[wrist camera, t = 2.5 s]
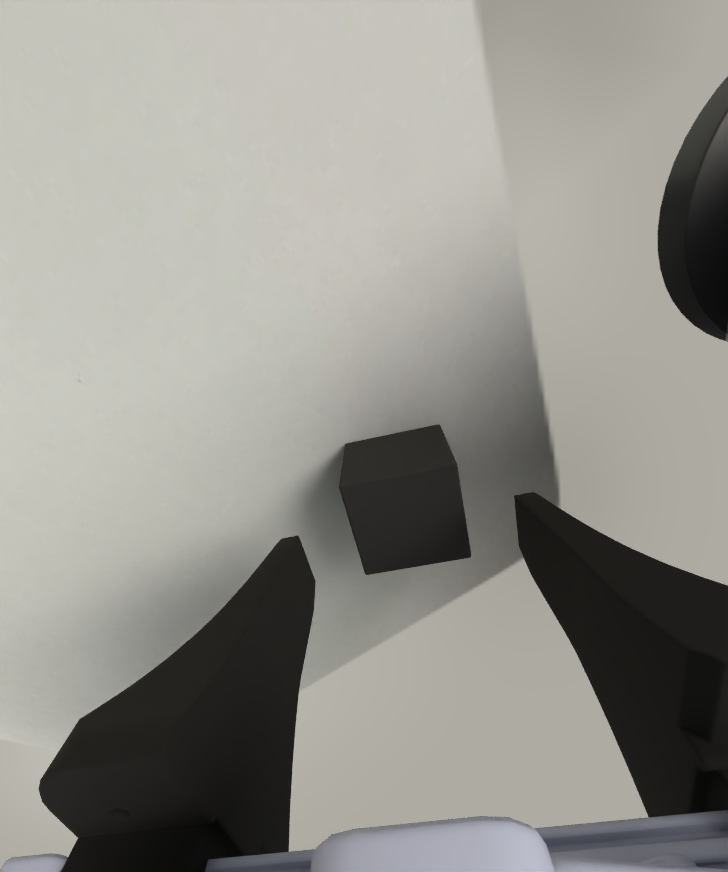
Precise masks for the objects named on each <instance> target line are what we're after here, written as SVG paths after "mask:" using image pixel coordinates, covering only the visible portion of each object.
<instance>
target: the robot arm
mask: <svg viewBox="0 0 728 872" xmlns="http://www.w3.org/2000/svg"><path fill="white" fill-rule="evenodd" d="M514 498H515V509H516V519H517V530H518V541H519V547H520V550H521V552H522V555H523V557H524V559H525V562H526V564H527V566H528V568H529V571H530V573H531V575H532V577H533V578H534V580H535V582H536V584H537V585H538V587H539V589H540V591H541V592H542V594H543V596H544V598H545V599H546V601H547V603H548V604H549V606H550V608H551V609H552V611H553V613H554V614H555V616H556V618H557V620H558V621H559V623H560V625H561V626H562V628H563V630H564V631H565V633H566V635H567V637H568V638H569V640H570V642H571V644H572V646H573V648H574V649H575V651H576V653H577V655H578V657H579V659H580V661H581V663H582V666H583V668H584V670H585V672H586V674H587V676H588V678H589V680H590V683H591V685H592V687H593V689H594V691H595V694H596V696H597V698H598V700H599V703H600V704H601V707H602V709H603V711H604V714H605V716H606V718H607V720H608V722H609V725H610V727H611V729H612V731H613V734H614V736H615V738H616V741H617V743H618V745H619V748H620V750H621V752H622V755H623V757H624V759H625V762H626V764H627V766H628V768H629V771H630V773H631V776H632V778H633V780H634V783H635V785H636V788H637V790H638V792H639V795H640V797H641V799H642V802H643V805H644V807H645V809H646V812H647V814H648V817H649V818H639V819H628V820H618V821H608V822H597V823H586V824H576V825H565V826H555V827H544V828H532V827H531V826H530V825H528V824H525V823H522V822H520V821H517V820H514V819H512V818H509V817H488V816H487V817H486V816H479V817H468V818H458V819H448V820H439V821H428V822H418V823H408V824H399V825H389V826H379V827H369V828H358V829H352V830H348V831H344V832H341V833H336V834H332V835H331V836H329V837H328V838H327V839H326V840H325V841H323V842H322V843H321V844H320V845H319V846H318V847H317V848H316V849H314V850H304V851H293V852H288V851H289V850H288V849H289V820H290V798H291V780H292V762H293V750H294V737H295V724H296V714H297V703H298V693H299V687H300V680H301V674H302V669H303V664H304V659H305V654H306V649H307V643H308V638H309V633H310V628H311V622H312V617H313V611H314V599H315V579H314V576H313V573H312V571H311V568H310V565H309V562H308V560H307V557H306V554H305V552H304V549H303V546H302V544H301V541H300V538H299V536H294V537H288V538H283V539H281V540H280V541H279V542H278V543H277V545H276V546H275V547H274V548H273V549H272V551H271V552H270V553H269V554H268V556H267V557H266V558H265V559H264V561H263V562H262V563H261V564H260V566H259V567H258V568H257V569H256V571H255V572H254V573H253V574H252V575H251V577H250V578H249V579H248V580H247V582H246V583H245V584H244V585H243V586H242V587H241V588H240V589H239V591H238V592H237V593H236V594H235V595H234V596H233V597H232V598H231V600H230V601H229V602H228V603H227V604H226V605H225V606H224V607H223V608H222V609H221V610H220V611H219V612H218V613H217V614H216V615H215V616H214V617H213V618H212V619H211V620H210V621H209V622H208V623H207V624H206V625H205V626H204V627H203V628H202V629H201V630H200V631H199V632H198V633H197V634H196V635H194V636H193V637H192V638H191V639H190V640H189V641H187V642H186V643H185V644H184V645H183V646H182V647H180V648H179V649H178V650H177V651H176V652H174V653H173V654H172V655H171V656H170V657H169V658H167V659H166V660H165V661H164V662H162V663H161V664H160V665H158V666H157V667H156V668H154V669H153V670H152V671H151V672H149V673H148V674H146V675H145V676H144V677H142V678H141V679H140V680H138V681H137V682H135V683H134V684H133V685H131V686H130V687H128V688H127V689H126V690H124V691H123V692H121V693H120V694H118V695H117V696H115V697H113V698H112V699H110V700H109V701H107V702H106V703H104V704H103V705H101V706H100V707H98V708H97V709H95V710H94V711H92V712H90V713H89V714H87V715H86V716H84V717H82V718H81V719H80V720H79V721H78V723H77V724H76V726H75V727H74V729H73V730H72V732H71V733H70V735H69V737H68V738H67V740H66V741H65V743H64V744H63V746H62V747H61V749H60V751H59V752H58V754H57V755H56V757H55V758H54V760H53V762H52V763H51V764H50V766H49V768H48V769H47V771H46V772H45V774H44V775H43V777H42V778H41V780H40V785H39V792H40V796H41V799H42V802H43V803H44V804H45V806H47V808H48V809H49V810H50V811H51V812H52V813H53V814H54V815H55V816H56V817H57V818H58V819H59V820H60V821H61V822H62V823H63V824H64V825H65V826H66V827H67V828H68V829H69V830H71V831H72V832H73V833H74V834H75V835H76V836H77V837H78V840H77V841H76V844H75V845H74V847H73V849H72V851H71V853H70V855H69V857H66V856H64V855H59V854H42V855H32V856H23V857H13V858H10V859H8V860H7V861H6V862H5V863H4V865H3V866H2V868H1V870H0V872H728V586H727V585H724V584H721V583H718V582H715V581H712V580H709V579H706V578H703V577H700V576H697V575H695V574H692V573H689V572H687V571H684V570H681V569H678V568H676V567H673V566H671V565H668V564H665V563H663V562H660V561H658V560H656V559H654V558H651V557H649V556H647V555H645V554H642V553H640V552H638V551H635V550H633V549H631V548H629V547H627V546H625V545H623V544H621V543H619V542H617V541H615V540H613V539H611V538H609V537H607V536H606V535H604V534H602V533H600V532H598V531H596V530H594V529H593V528H591V527H589V526H587V525H586V524H584V523H582V522H581V521H579V520H577V519H576V518H574V517H572V516H571V515H569V514H567V513H566V512H564V511H563V510H561V509H560V508H558V507H556V506H555V505H553V504H552V503H550V502H549V501H547V500H546V499H544V498H543V497H541V496H539V495H538V494H536V493H535V492H531V493H526V494H520V495H515V496H514Z"/></svg>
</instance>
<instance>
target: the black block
mask: <svg viewBox="0 0 728 872" xmlns="http://www.w3.org/2000/svg"><path fill="white" fill-rule="evenodd" d="M339 489H340V492H341V495H342V499H343V502H344V505H345V509H346V512H347V515H348V519H349V522H350V525H351V528H352V532H353V535H354V538H355V542H356V545H357V548H358V552H359V555H360V558H361V562H362V565H363V568H364V572H365V574H366V575H369V574H375V573H381V572H387V571H393V570H399V569H405V568H411V567H417V566H423V565H428V564H434V563H440V562H446V561H452V560H458V559H464V558H470V557H471V551H470V544H469V538H468V531H467V525H466V519H465V512H464V506H463V499H462V493H461V487H460V480H459V474H458V467H457V463H456V461H455V459H454V456H453V454H452V452H451V450H450V447H449V445H448V443H447V440H446V438H445V436H444V434H443V431H442V429H441V427H440V425H434V426H429V427H424V428H420V429H415V430H410V431H405V432H400V433H396V434H391V435H386V436H381V437H376V438H371V439H367V440H362V441H357V442H352V443H347V444H345V451H344V458H343V465H342V471H341V478H340V485H339Z"/></svg>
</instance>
